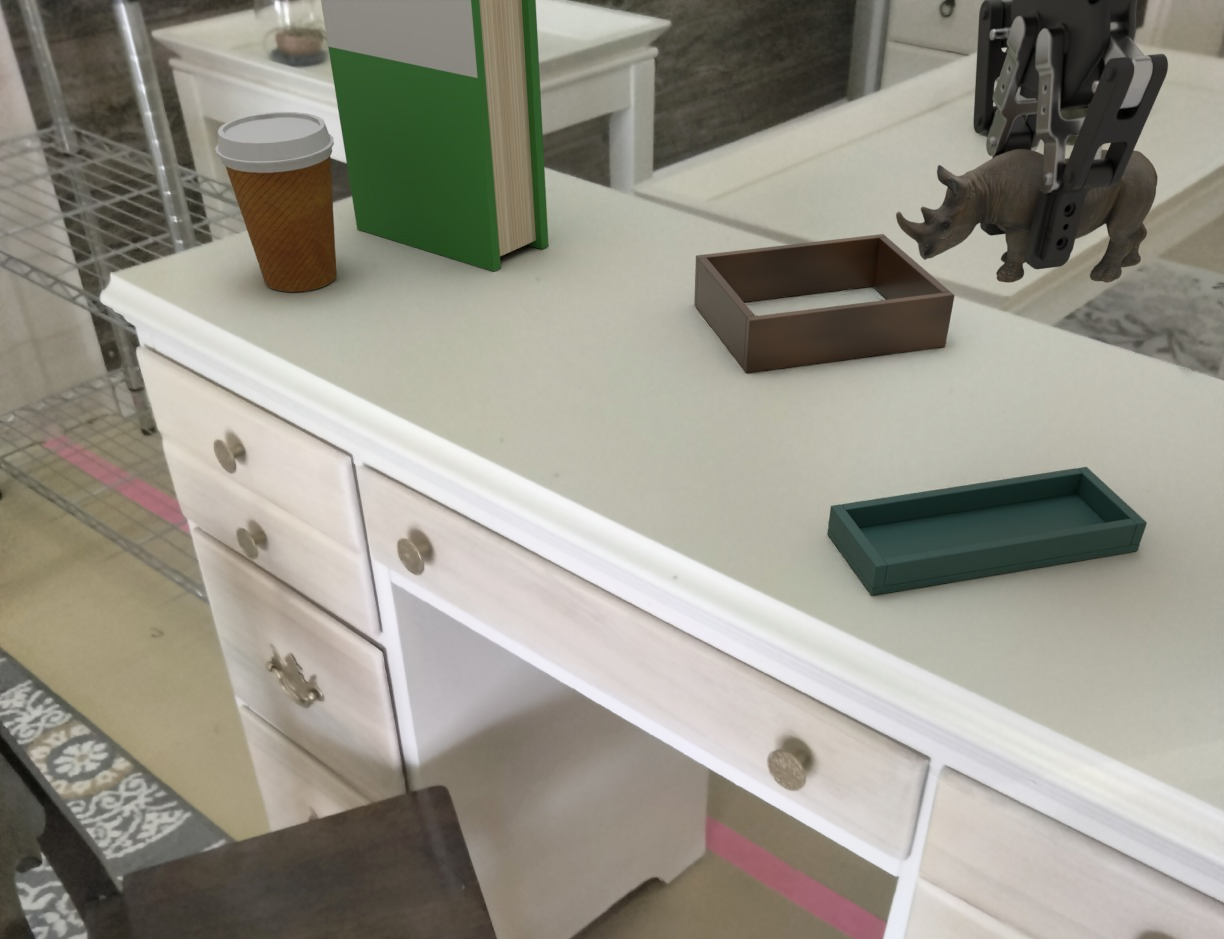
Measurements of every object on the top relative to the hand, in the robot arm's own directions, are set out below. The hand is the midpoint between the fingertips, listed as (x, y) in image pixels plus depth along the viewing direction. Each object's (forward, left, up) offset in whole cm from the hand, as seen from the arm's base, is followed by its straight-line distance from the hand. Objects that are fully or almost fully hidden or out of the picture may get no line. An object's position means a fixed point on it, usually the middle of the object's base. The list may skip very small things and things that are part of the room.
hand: (1021, 246), depth 65 cm
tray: (0, +3, -17) cm, 17 cm away
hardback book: (+24, -58, -17) cm, 65 cm away
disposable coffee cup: (+38, -52, -17) cm, 67 cm away
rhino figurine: (0, 0, -2) cm, 2 cm away
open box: (-2, -30, -17) cm, 35 cm away
